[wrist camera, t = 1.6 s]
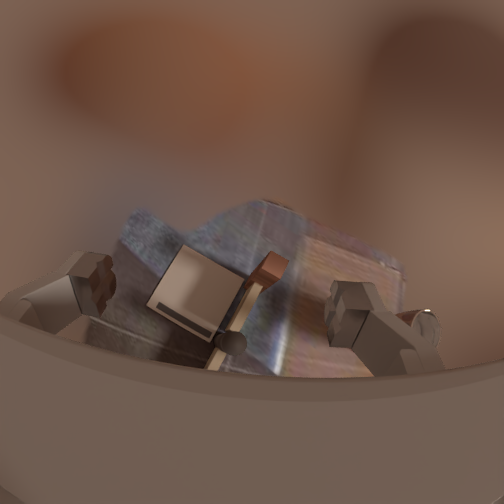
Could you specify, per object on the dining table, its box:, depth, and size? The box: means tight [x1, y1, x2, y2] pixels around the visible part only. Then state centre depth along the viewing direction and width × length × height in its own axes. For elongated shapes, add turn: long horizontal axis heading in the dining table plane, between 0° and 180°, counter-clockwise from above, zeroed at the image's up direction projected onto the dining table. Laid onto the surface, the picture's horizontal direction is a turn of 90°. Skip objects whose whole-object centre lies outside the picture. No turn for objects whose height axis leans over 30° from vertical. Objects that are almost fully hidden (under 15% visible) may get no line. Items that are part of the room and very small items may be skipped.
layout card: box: [147, 245, 245, 343], centre depth 41 cm, size 11×11×1 cm
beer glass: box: [395, 309, 441, 349], centre depth 37 cm, size 7×7×15 cm
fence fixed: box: [204, 331, 247, 371], centre depth 32 cm, size 15×3×13 cm, turn 153°
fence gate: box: [225, 251, 289, 332], centre depth 36 cm, size 9×2×12 cm, turn 153°
